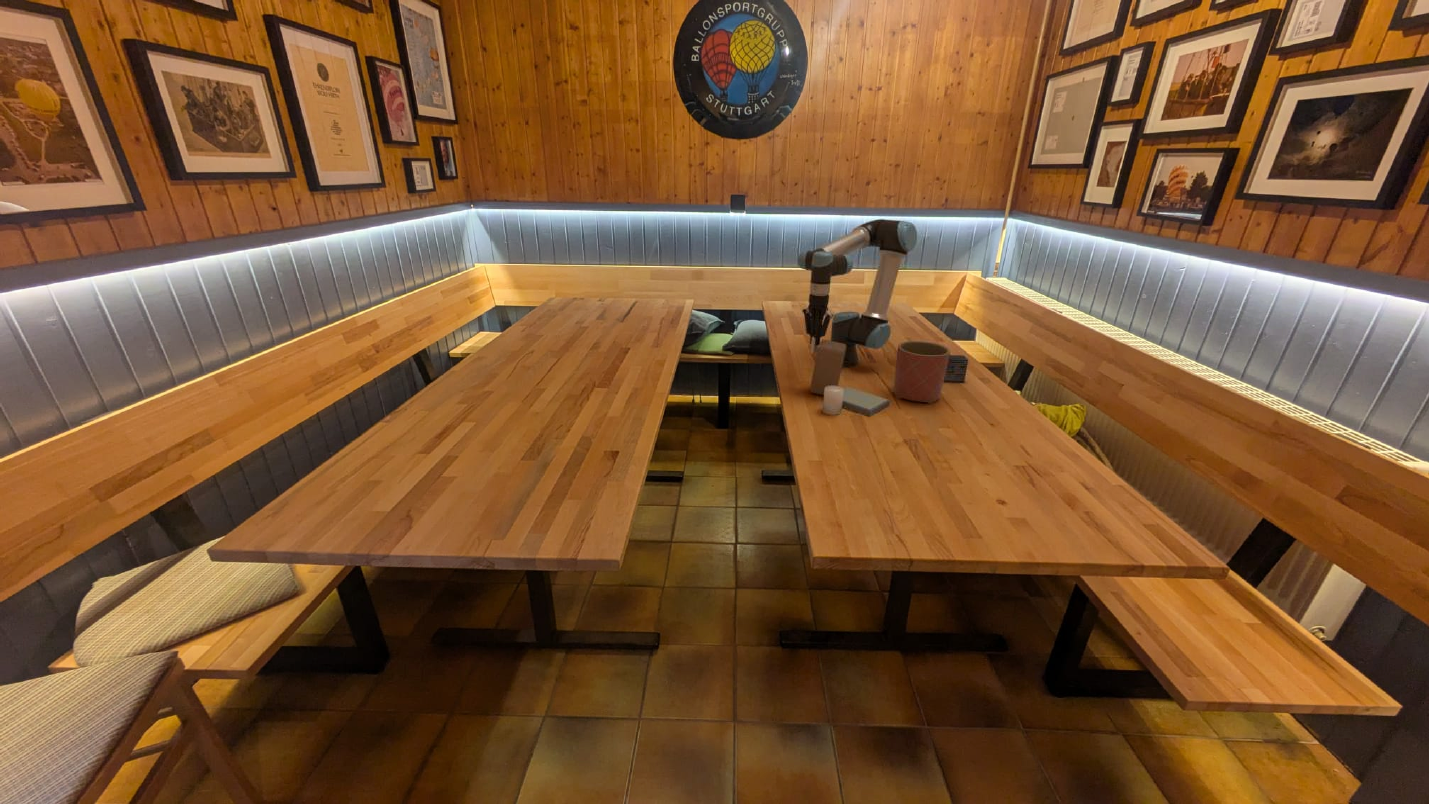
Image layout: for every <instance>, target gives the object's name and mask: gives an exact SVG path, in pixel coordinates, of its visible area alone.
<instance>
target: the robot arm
mask: <svg viewBox="0 0 1429 804" xmlns="http://www.w3.org/2000/svg"><path fill="white" fill-rule="evenodd" d="M917 240H918V231H917V227H916V226H915V224H913V222H910V221H905V220H895V219H884V218H881V219H879V218H878V219H874V220H869V221H868V222H865V223H862V224H860V225H858V226H856V227H854V228H852V231H851V232H849V233H847V234H845V235H843V236H841V237H839V238H836V239H834V240H833V241H830V242H828V243H827V244H824V245H822V246H820V247H818V248H815V249H814V250H809V249H808V250H802V251H801V252H800V253H799V255H798V257H797V264H798V266H799V268H800V269H801V270H805V271H810V272H811V273H810V274H811V275H810V285H809V295H808V306H807V307H806V308H804V309H802V313H803V315H804V324H805V333H806V334H807V335H809V336H810V338H809V345H810V344H811V345H810V354H817V351H818V347H819V345H820V343H821V338H822V337H825V336H826V334H827V331H828V327H829V325H830V322H831V319H832V322H831V329H830V330H831V331H830V341H833V342H838V343H843V344H845V345H846V351H845V356H844V361H843V365H842V367H853V366H857V364H858V363H859V356H858V349H857V345H858V346H863V347H865V348H868V349H872V350H873V349H875V350H878V349H880V348H882V347H884V346H885V345H886V344H887V342H888V340H889V339H890V336H891V331H892V328H891V325H890V324H889V318H888V317H887V313H888V310H889V306H890V303H891V298H892V295H893V291H894V288H895V285H896V280H897V279H898V274H899V271H900V267H901V263H902V260H903V259H904V258H906V257H907V255H908V253H909V252H912V251H913V250H914V248H915V247H916V245H917ZM868 247H871V248H872V247H874V248H879V249H878V252H879V254H880V260H879V262H878V267H877V270H876V274H875V277H874V281H873V285H872V289H871V293H870V296H869V300H868V304H867V306H866V310H865V311H864V312H863V313H861V316H860V313H859V312H858V311H840V312H835V314H833V313H830V311H829V308H828V307H829V306H828V305H829V300H830V295H829V294H830V291H831V290H830V289H831V279H832V277H838V276H844V275H846V274H849V273H851V271H852V270H853V268H854V267H853V266H854V261H853V258H852V257H851V256H850V255H849V254H850V253H852V252H854V251H857V250H858V249H861V250H863V249H866V248H868Z"/></svg>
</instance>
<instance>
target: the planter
mask: <svg viewBox="0 0 1429 804" xmlns="http://www.w3.org/2000/svg"><path fill="white" fill-rule="evenodd" d="M949 355H951V350H950V349H949V348H948V347H947V346H945V345H944V344H939V343H937V342H932V341H925V340H924V341H923V340H908V341H903V342H900V343H899V344H898V345H897V352H896V361H895V368H894V369H895V370H894V380H893V390H892V391H893V393H894V396H895V397H896V398H897V399H898V400H899V399H900V400H901V399H904V400H908V401H913V402H920V403H922V402H923V403H924V402H925V403H927V404H928V405H929V404H930V405H931V404H933V403H935V402H937V401H938V400H939V399H940V398H941V393H942V389H943V386H944V382H943V381H944V377H945V373H946V368H947V364H948V359H949Z"/></svg>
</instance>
